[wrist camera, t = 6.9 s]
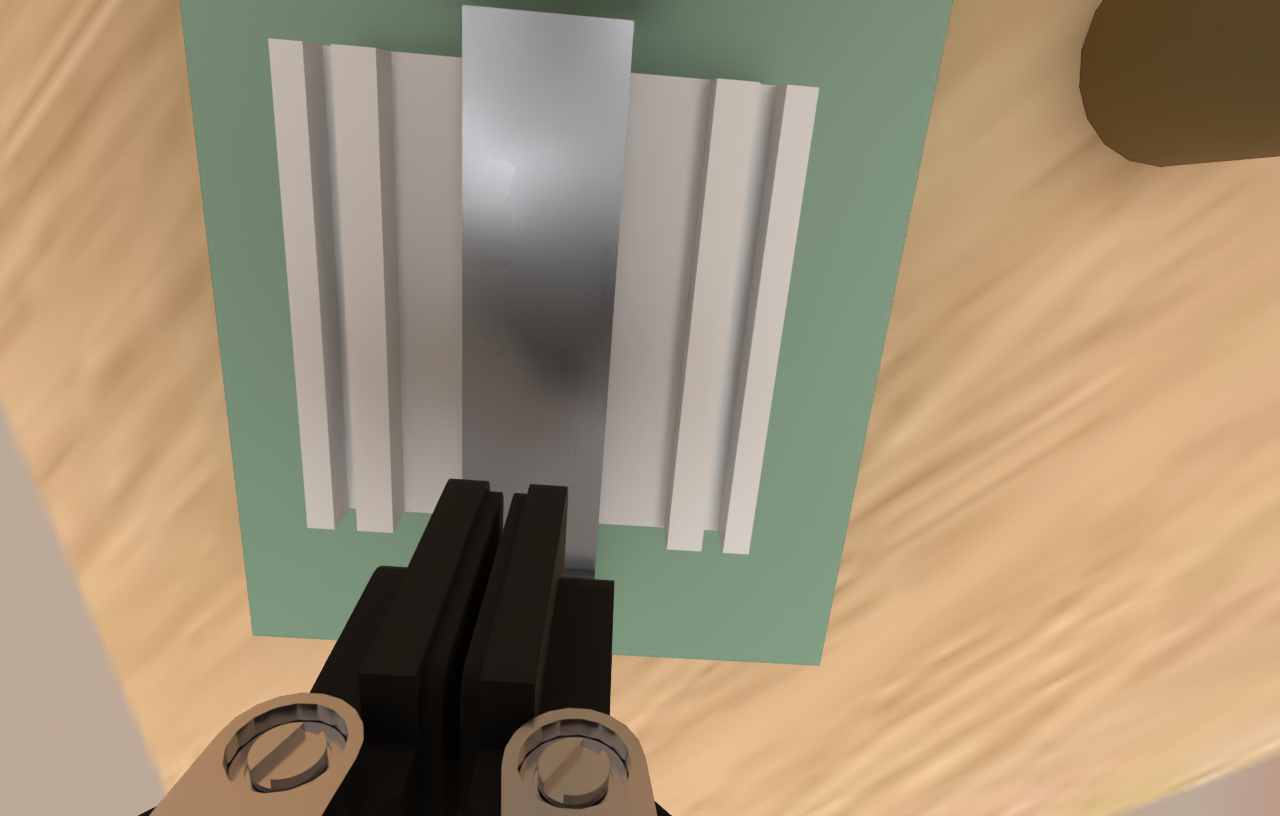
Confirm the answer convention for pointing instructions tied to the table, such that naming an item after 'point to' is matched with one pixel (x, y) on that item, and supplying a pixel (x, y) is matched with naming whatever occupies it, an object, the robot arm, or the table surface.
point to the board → (812, 342)
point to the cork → (1184, 79)
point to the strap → (541, 252)
